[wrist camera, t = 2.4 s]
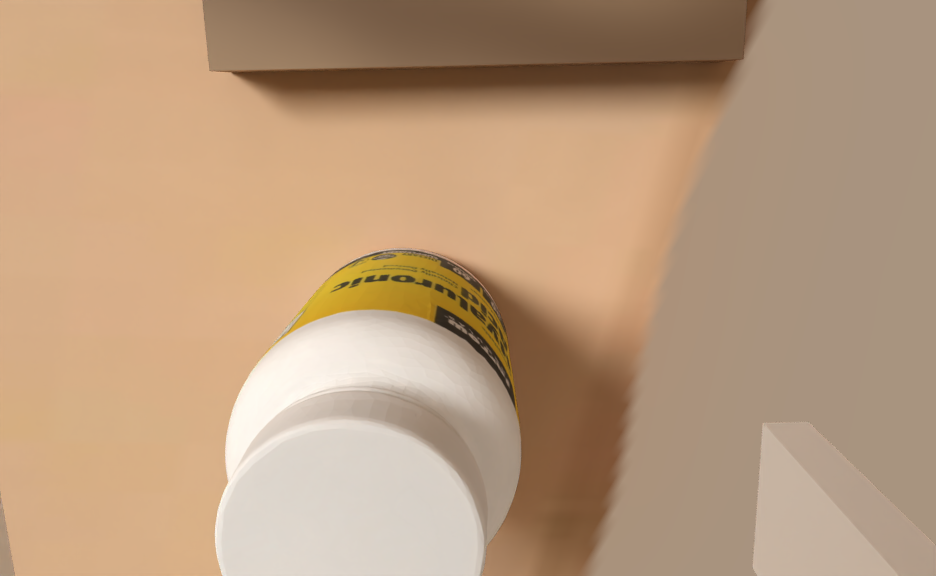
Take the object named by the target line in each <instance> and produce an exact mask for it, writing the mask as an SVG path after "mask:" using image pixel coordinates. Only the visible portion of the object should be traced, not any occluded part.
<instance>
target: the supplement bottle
mask: <svg viewBox="0 0 936 576" xmlns="http://www.w3.org/2000/svg"><path fill="white" fill-rule="evenodd" d="M225 461H226V472H227V477H228V485H227V486H226V488H225V490H224V492H223V495H222V498H221V502H220V505H219V508H218V512H217V519H216V527H215V545H216V554H217V558H218V562H219V566H220V570H221V573H222V576H482V573H483V570H484V565H485V559H486V547H487V545H488V544H489V543H490V541H491V540H492V539H493V537H494V536H495V535H496V533H497V532H498V530H499V528H500V527H501V525H502V523H503V522H504V520H505V518H506V515H507V513H508V511H509V509H510V506H511V504H512V501H513V498H514V495H515V492H516V488H517V485H518V481H519V475H520V468H521V434H520V422H519V415H518V408H517V402H516V395H515V387H514V381H513V373H512V367H511V361H510V354H509V347H508V339H507V334H506V330H505V326H504V323H503V321H502V318H501V315H500V312H499V310H498V308H497V306H496V304H495V302H494V300H493V298H492V297H491V295H490V294H489V292H488V291H487V290H486V288H485V287H484V286H483V285H482V284H481V283H480V281H479V280H478V279H477V278H476V277H475V276H473V275H472V274H471V273H470V272H469V271H468V270H466V269H465V268H463V267H462V266H460V265H459V264H457V263H456V262H454V261H452V260H450V259H448V258H446V257H444V256H441V255H439V254H436V253H433V252H429V251H425V250H420V249H412V248H391V249H385V250H380V251H375V252H372V253H368V254H365V255H363V256H361V257H359V258H356V259H354V260H352V261H351V262H349V263H347V264H346V265H344V266H343V267H341V268H340V269H339V270H337V271H336V272H335V273H334V274H333V275H332V276H331V277H329V278H328V279H327V281H326V282H325V283H324V284H323V285H322V286H321V287H320V288H319V289H318V290H317V291H316V292H315V293H314V295H313V296H312V297H311V298H310V299H309V301H308V302H307V303H306V304H305V305H304V307H303V308H302V309H301V310H300V312H299V313H298V314H297V315H296V317H295V318H294V319H293V320H292V321H291V322H290V324H289V325H288V326H287V327H286V329H285V330H284V331H283V332H282V334H281V335H280V336H279V337H278V339H277V340H276V341H275V342H274V343H273V345H272V346H271V347H270V348H269V350H268V351H267V352H266V353H265V354H264V355H263V357H262V358H261V359H260V360H259V361H258V363H257V364H256V366H255V367H254V368H253V370H252V371H251V373H250V375H249V377H248V378H247V380H246V382H245V383H244V385H243V387H242V389H241V391H240V393H239V395H238V397H237V400H236V402H235V405H234V407H233V411H232V414H231V418H230V421H229V426H228V431H227V437H226V449H225Z"/></svg>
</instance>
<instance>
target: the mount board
mask: <svg viewBox="0 0 936 576" xmlns="http://www.w3.org/2000/svg"><path fill="white" fill-rule="evenodd" d="M203 10H204V20H205V30H206V40H207V51H208V61H209V71H218V72H265V71H311V70H357V69H402V68H448V67H494V66H540V65H585V64H631V63H677V62H723V61H732V60H741V59H743V58H744V42H745V26H746V11H747V0H203Z"/></svg>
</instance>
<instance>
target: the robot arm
mask: <svg viewBox="0 0 936 576" xmlns="http://www.w3.org/2000/svg"><path fill="white" fill-rule="evenodd" d="M757 497H758V498H757V510H756V524H755V538H754V552H753V566H752V568H753V570H754V572H755V574H756V575H757V576H936V545H935V544H934V543H933V542H932V541H931V540H930V539H929V538H928V537H927V536H926V535H925V534H924V533H923V532H922V531H921V530H920V529H919V528H918V527H917V526H916V525H915V524H914V523H913V522H912V521H911V520H910V519H909V518H907V517H906V516H905V515H904V514H903V513H902V512H901V511H900V510H899V509H898V508H897V507H896V506H895V505H894V504H893V503H892V502H891V501H890V500H889V499H888V498H887V497H886V496H885V495H884V494H883V493H882V492H881V491H879V489H878V488H876V487H875V486H874V485H873V484H872V483H871V482H870V481H869V480H868V479H867V478H866V477H865V476H864V475H863V474H862V473H861V472H860V471H859V470H858V469H857V468H856V467H855V466H854V465H853V464H852V463H851V462H850V461H849V460H848V459H846V458H845V457H844V456H843V455H842V454H841V453H840V452H839V451H838V450H837V449H836V448H835V447H834V446H833V445H832V444H831V443H830V442H829V441H828V440H827V439H826V438H825V437H824V436H823V435H822V434H821V433H820V432H819V431H817V430H816V429H815V428H814V427H813V426H812V425H811V424H810V423H809V422H770V423H763V428H762V441H761V456H760V469H759V482H758V496H757ZM0 576H15V573H14V567H13V561H12V556H11V550H10V544H9V539H8V533H7V527H6V522H5V516H4V510H3V504H2V499H1V493H0Z"/></svg>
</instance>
